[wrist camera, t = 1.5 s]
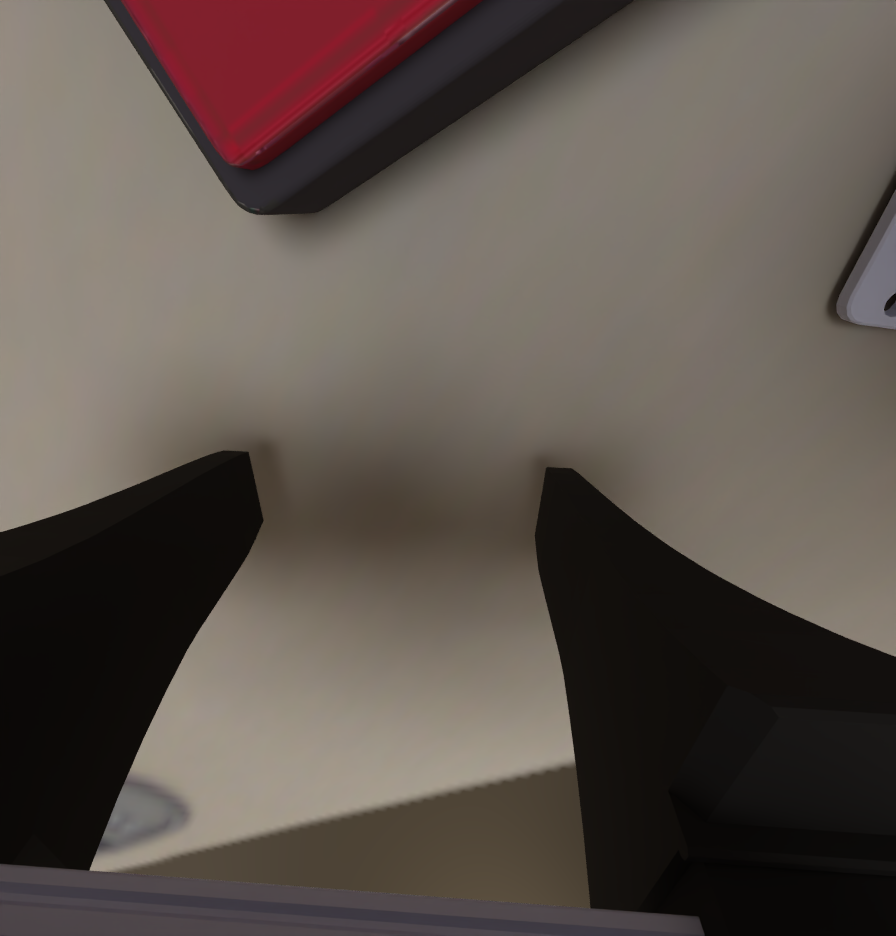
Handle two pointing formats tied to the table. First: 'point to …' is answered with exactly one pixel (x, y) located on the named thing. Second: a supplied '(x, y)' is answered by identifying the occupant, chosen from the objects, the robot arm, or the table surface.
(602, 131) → the table surface
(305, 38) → the big button panel
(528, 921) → the robot arm
